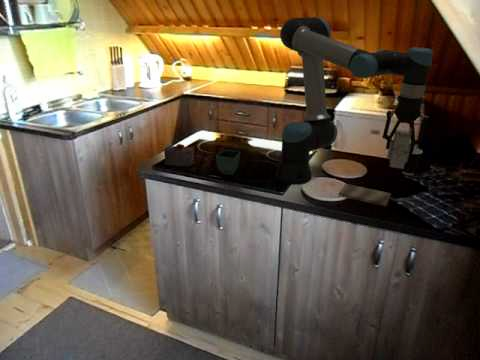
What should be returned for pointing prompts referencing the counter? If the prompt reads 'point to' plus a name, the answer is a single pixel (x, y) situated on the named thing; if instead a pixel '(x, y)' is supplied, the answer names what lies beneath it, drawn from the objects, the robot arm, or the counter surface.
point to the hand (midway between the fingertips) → (397, 159)
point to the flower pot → (228, 161)
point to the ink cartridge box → (400, 148)
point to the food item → (179, 155)
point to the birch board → (365, 194)
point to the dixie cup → (412, 162)
